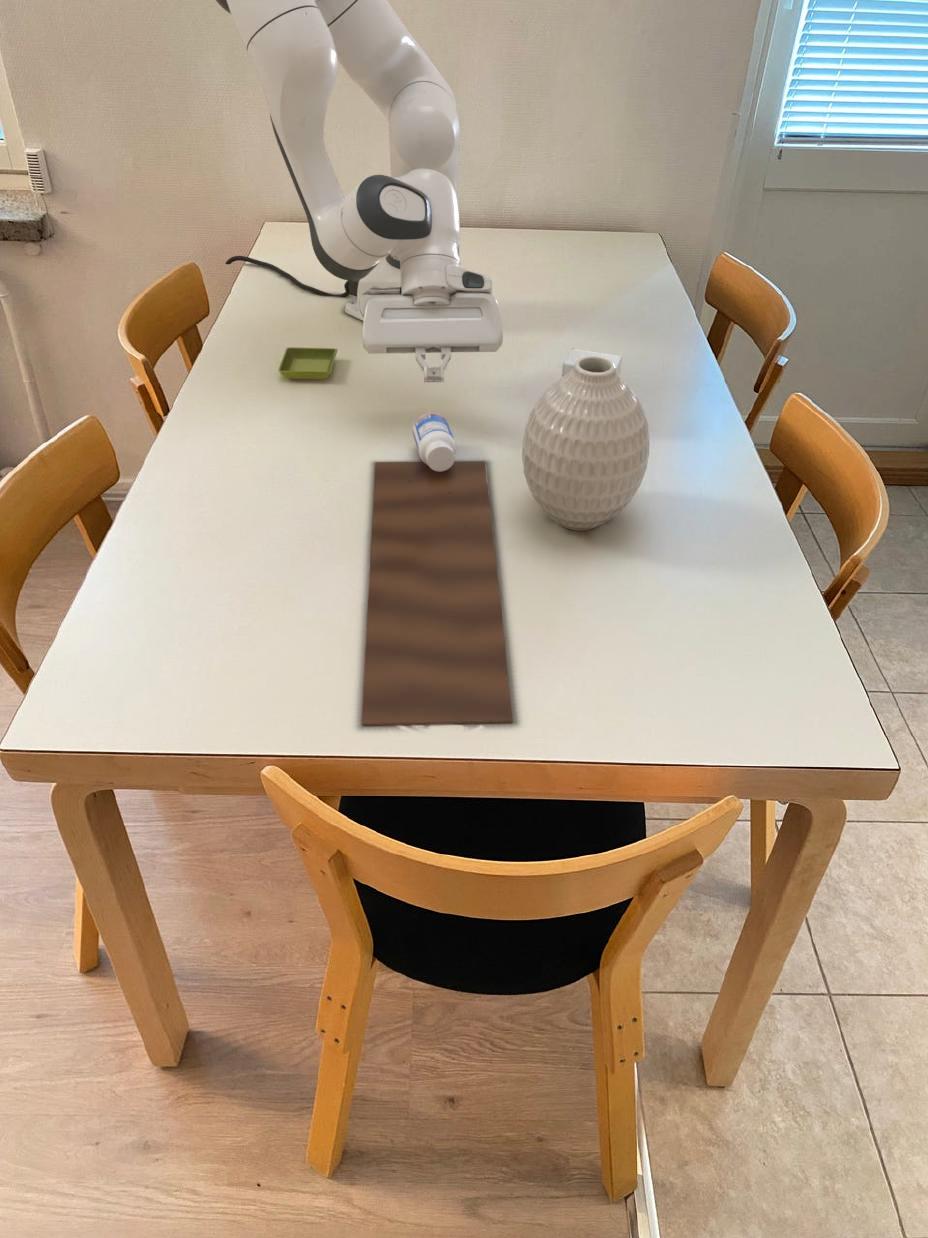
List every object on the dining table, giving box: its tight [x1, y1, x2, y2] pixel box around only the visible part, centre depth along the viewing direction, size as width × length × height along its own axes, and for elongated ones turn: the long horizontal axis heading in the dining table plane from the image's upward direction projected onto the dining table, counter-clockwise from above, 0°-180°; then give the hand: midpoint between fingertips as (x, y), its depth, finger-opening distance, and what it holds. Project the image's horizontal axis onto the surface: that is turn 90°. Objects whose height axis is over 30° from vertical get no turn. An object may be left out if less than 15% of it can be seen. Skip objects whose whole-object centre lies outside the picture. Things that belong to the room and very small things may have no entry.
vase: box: [521, 356, 651, 531], centre depth 124 cm, size 16×16×22 cm
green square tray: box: [277, 346, 338, 380], centre depth 161 cm, size 9×9×2 cm
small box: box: [561, 348, 623, 378], centre depth 147 cm, size 8×6×10 cm
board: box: [361, 460, 514, 726], centre depth 121 cm, size 51×16×1 cm, turn 2°
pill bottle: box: [412, 412, 457, 472], centre depth 139 cm, size 6×5×10 cm
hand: (433, 381), depth 139 cm, fingers closed
